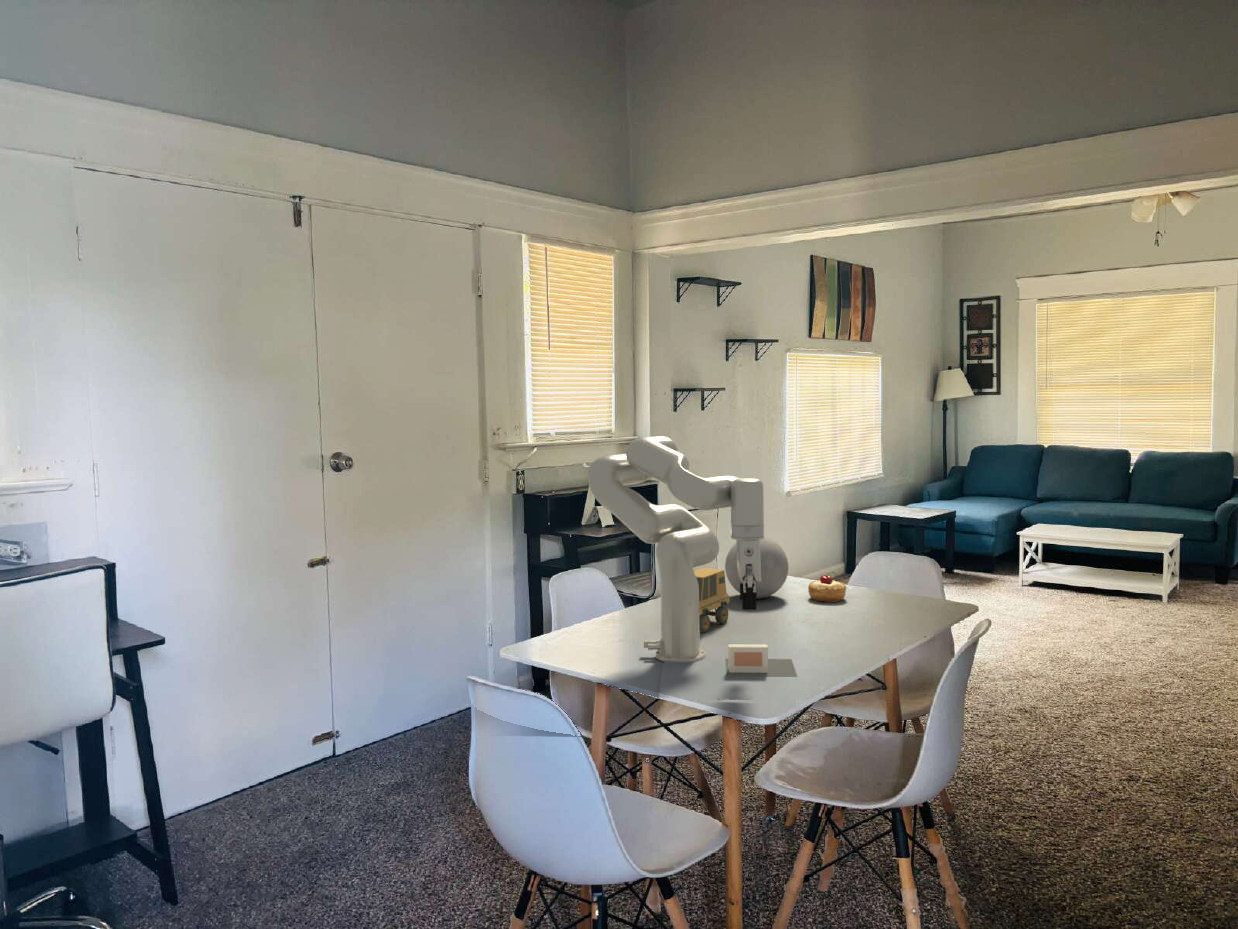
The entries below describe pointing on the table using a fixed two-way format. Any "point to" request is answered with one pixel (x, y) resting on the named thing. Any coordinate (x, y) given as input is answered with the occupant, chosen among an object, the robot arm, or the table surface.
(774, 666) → the mat
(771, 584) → the ball
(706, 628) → the toy car
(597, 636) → the table surface
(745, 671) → the card box
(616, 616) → the table surface
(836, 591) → the pastry
